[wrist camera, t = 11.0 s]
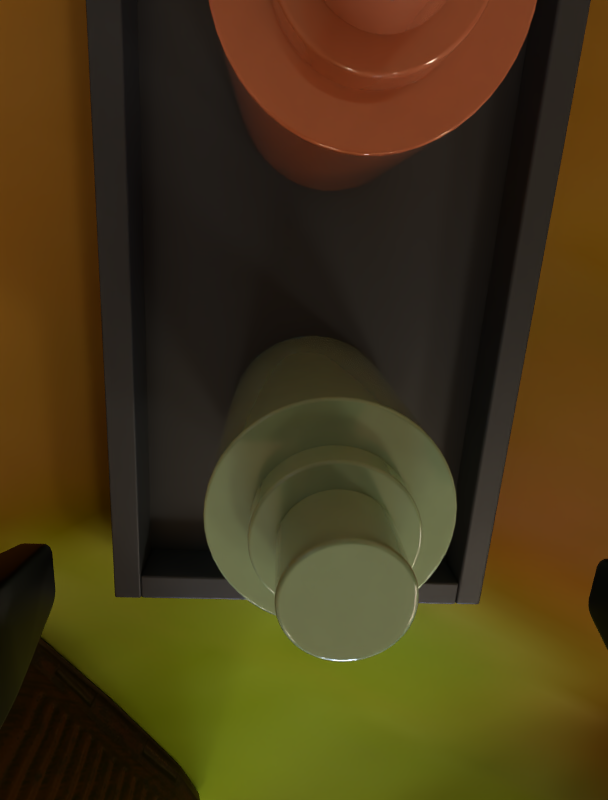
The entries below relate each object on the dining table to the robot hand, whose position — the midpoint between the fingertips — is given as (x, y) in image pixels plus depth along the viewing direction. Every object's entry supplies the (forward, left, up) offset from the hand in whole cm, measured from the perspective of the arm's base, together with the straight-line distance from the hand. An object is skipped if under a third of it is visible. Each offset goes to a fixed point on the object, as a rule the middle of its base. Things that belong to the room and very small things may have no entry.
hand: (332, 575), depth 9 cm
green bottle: (0, 0, -8) cm, 8 cm away
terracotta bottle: (0, -9, -8) cm, 12 cm away
